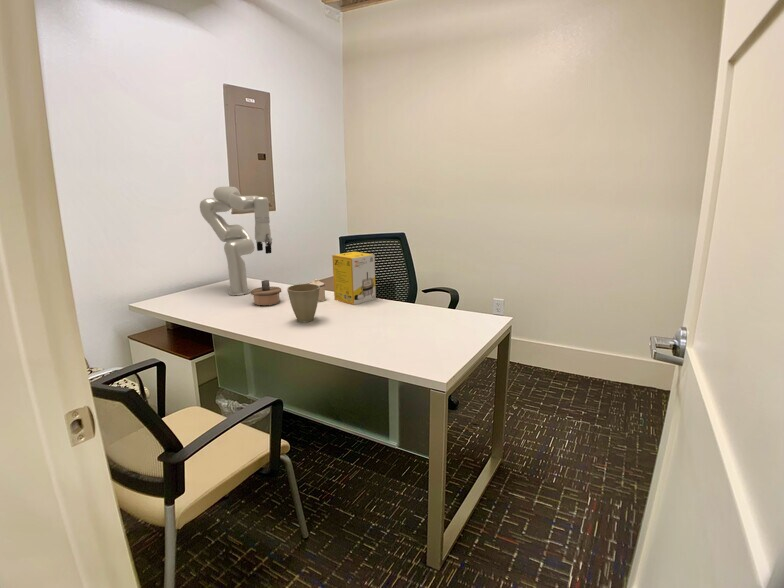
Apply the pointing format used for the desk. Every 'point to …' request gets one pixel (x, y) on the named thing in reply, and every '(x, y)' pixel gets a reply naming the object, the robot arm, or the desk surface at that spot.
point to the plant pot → (304, 300)
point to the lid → (265, 290)
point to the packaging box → (354, 277)
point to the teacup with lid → (321, 290)
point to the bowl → (266, 299)
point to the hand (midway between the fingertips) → (264, 251)
